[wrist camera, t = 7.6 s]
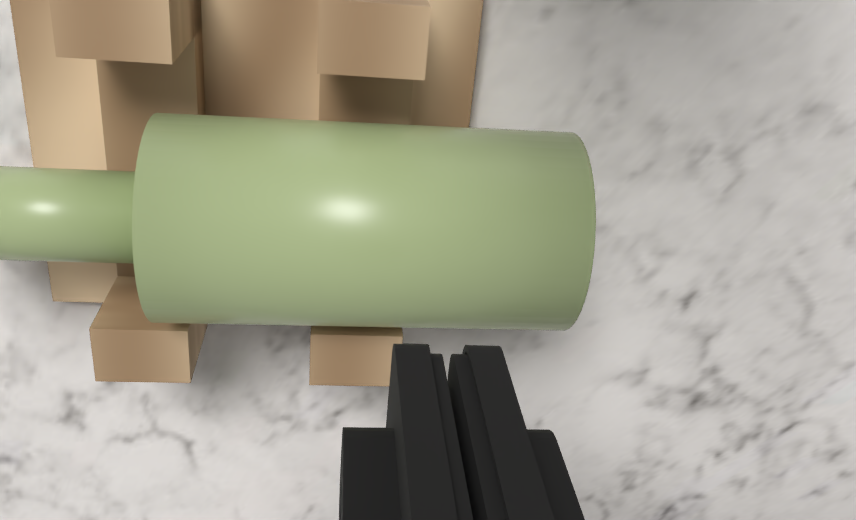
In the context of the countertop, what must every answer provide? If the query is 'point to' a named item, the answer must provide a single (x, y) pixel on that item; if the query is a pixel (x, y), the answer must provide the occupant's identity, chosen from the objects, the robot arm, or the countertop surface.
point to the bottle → (326, 223)
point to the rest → (227, 96)
